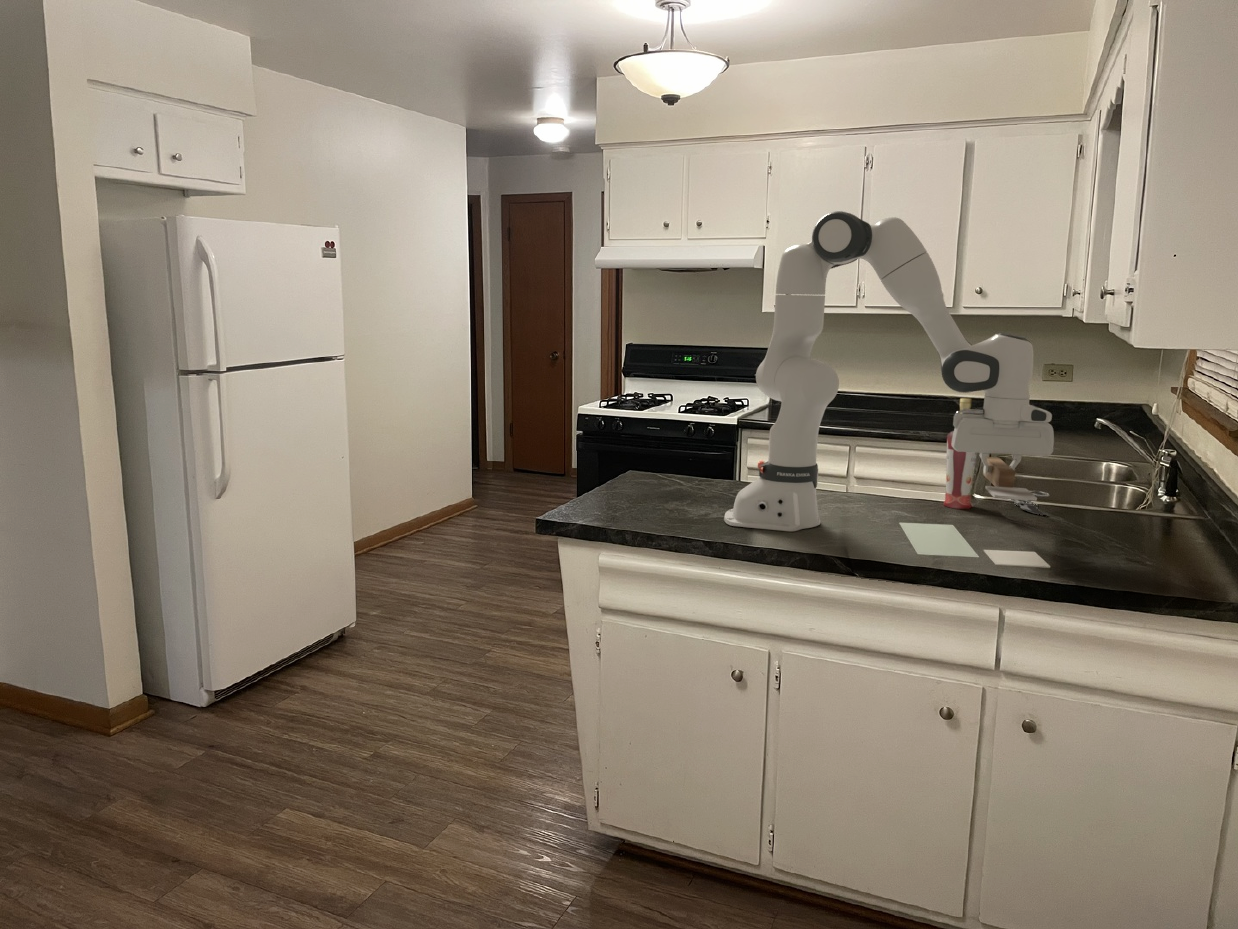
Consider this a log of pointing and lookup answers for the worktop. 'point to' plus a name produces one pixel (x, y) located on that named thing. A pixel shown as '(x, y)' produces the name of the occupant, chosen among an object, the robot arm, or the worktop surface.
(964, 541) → the plate
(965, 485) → the liquor
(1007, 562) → the tile
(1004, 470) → the turner
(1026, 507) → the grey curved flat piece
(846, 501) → the worktop surface
